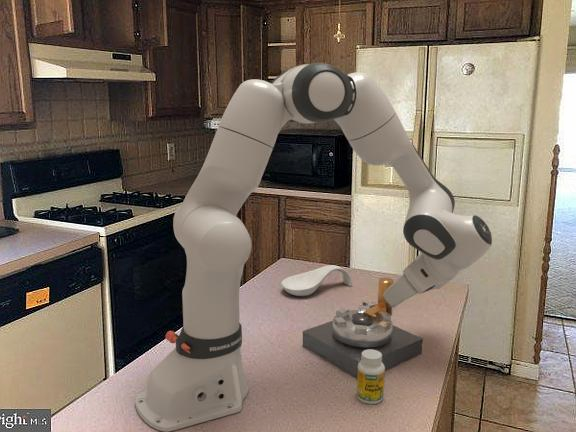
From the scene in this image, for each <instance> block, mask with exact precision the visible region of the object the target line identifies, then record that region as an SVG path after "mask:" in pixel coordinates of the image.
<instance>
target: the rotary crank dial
mask: <svg viewBox="0 0 576 432" xmlns="http://www.w3.org/2000/svg"><path fill="white" fill-rule="evenodd" d="M394 282H395V280H394V279H392V278H389V277H380V278H379V279H378V289H377V290H378V292H377V303H376V304H377V305H375V306H373V307H372V308H370V306H363V305H361V304H360V305H358V309H351V310H350V309H349V308H346V307H340V308H338V309H336V310H335V316H333V318H332V321H333V332H332V333H333V336H334V337H335V338H336V339H337V340H339V341H340V342H342V343H344V344H347V345H351V346H355V347H378V346H382V345H384V344H386V343H388V342H389V341H390V340H391V339H392V328H393V324H394V323H393V321H392V315H393V307H391V306H390V305H389V304H388V302H387V301H386V300H385V298H384V297H383V294H384V292H385V291H386V290H387V289H388V288H389V287H390V286H391V285H392V284H393V283H394Z"/></svg>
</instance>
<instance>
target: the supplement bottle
mask: <svg viewBox="0 0 576 432" xmlns="http://www.w3.org/2000/svg"><path fill="white" fill-rule="evenodd" d="M361 359H362V360H361V361H360V362H359V364H358V376H357V378H356V380H357V381H356V382H357V383H356V397H357V399H358V400H359V401H361V402H363V403H365V404H367V405H368V404H370V405H375V404H379V403H381V402H382V401H383V399H384V397H385V393H384V392H385V378H386V377H385V376H386V375H385V373H386V371H385V366H384V364H383V363H382V362H381V361H382V354H381V353H380V352H379V351H377V350H372V349H368V350H364V351H363V352H362V355H361Z"/></svg>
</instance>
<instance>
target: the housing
mask: <svg viewBox="0 0 576 432" xmlns="http://www.w3.org/2000/svg"><path fill="white" fill-rule="evenodd" d="M332 332H333V320H330V321H328V322H325V323H322V324H319V325H316V326H314V327H311V328H308V329H305V330H302V347H303V348H305V349H307V350H308V351H310V352H311V353H313V354H315V355H317V356H318V357H320V358H321V359H324V360H325V361H327V362H329V363H330V364H332V365H333V366H335V367H337V368H339V369H340V370H342V371H343V372H345V373H347V374H348V375H350V376H352V377H354V378H356V379H357V376H358V364H359V362H360V361H361V360H362V359H361V355H362V352H363V351H364V350H368V349H372V350H377V351H379V352H380V353H381V354H382V361H381V362H382V363H383V364H384V366H385V372H386V371H388V370H391V369H392V368H395V367H396V366H399V365H401V364H403V363H405V362H408V361H409V360H412V359H414V358H416V357H418V356H421V355H423V353H422V351H423V340H424V339H423V337H421V336H419V335H415V334H413V333H412V332H409V331H407V330H405V329H402V328H401V327H398V326H396V325H393V328H392V339H391V340H390V341H389V342H388V343H386V344H384V345H382V346H378V347H355V346H351V345H347V344H344V343H342V342H340V341H339V340H337V339H336V338H335V337H334V336H333V333H332Z"/></svg>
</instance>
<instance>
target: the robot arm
mask: <svg viewBox="0 0 576 432" xmlns="http://www.w3.org/2000/svg"><path fill="white" fill-rule="evenodd" d="M330 121H335V122H336V124H337V125H338V126H339V127H340V128H341V130H342V132H343V134H344V137H345V138H346V140H347V141H348V143H349V146H350V147H351V148H352V150H353V152H354V153H356V155H357V156H358V157H359V158H360V160H362V161H363V163H365V164H368V165H372V166H384V165H387V164H389V165H390V166H391V167H392V168H393V170H395V172H396V173H397V175H398V176H399V178H400V180H401V181H402V183H403V184H404V186H405V187H406V189H407V190H408V194H409V205H408V206H409V207H408V210H407V213H406V217H405V220H404V223H403V228H402V229H403V231H402V232H403V237H404V239H405V240H406V242H407V243H408V244H409V245H410V246H411V247H412V248H414V249H415V250H418V251H419V252H420V254H418V255H417V256H416V257H414V260H413V261H412V262H411V263H410V264H409V265H408V266H406V267H404V269H402V274H401V275H400V276H399V277H398V278H397V279H395V280H394V283H393V284H392V285H391V286H390V287H389V288H388V289H387V290H386V291H385V292H384V294H383V297H384V298H385V300H386V301H387V302H388V304H389V305H390V306H391V307H392V308H393V307H396V306H398V305H399V304H401V303H403V302H406V300H409V299H411V298H412V297H414V296H416V295H418V294H420V295H421V294H423V293H427V292H428V291H432V290H433V291H434V290H439V289H441V288H442V287H444V286H445V285H447V284H448V283H450V282H451V281H452V280H454V279H455V278H456V277H457V276H458V274H460V272H461V271H463V270H466V269H468V268H470V266H472V265H474V264H475V263H476V262H477V261H479V260H480V259H481V258H483V256H484V255H485V254H487V252H488V251H489V250H490V249H491V247H492V245H493V237H492V232H491V230H490V228H489V226H488V225H487V223H486V222H485V221H484V220H483V219H482V218H481V217H480V216H478V215H475V214H472V215H471V214H470V215H462V214H456V213H453V212H454V209H455V205H456V202H455V197H454V195H453V193H452V192H451V190H450V189H449V188H448V187H447V186H446V185H444V184H443V183H441V182H440V181H439V180H438V179H437V178H436V177H435V176H434V175H433V173H432V172H431V170H430V169H429V167H428V166H427V164H426V162H425V161H424V160H423V158H422V155H421V154H420V153H419V151H418V150H417V148H416V147H415V145H414V144H413V142H412V141H411V139H410V137H409V136H408V134H407V132H406V130H405V127H404V125H403V123H402V121H401V119H400V118H399V115H398V114H397V112H396V110H395V108H394V107H393V104H392V103H391V102H390V100H389V98H388V96H387V95H386V94H385V92H384V91H383V89H382V88H381V87H380V86H379V84H378V83H377V82H376V81H375V80H374V79H373V77H372V76H371V75H370V74H368V73H366V72H362V71H357V72H352V73H348V74H347V73H344V71H342V70H341V69H339V68H337V67H336V66H335V65H332V64H329V63H325V62H312V63H310V64H309V63H304V64H300V65H297V66H294V67H292V68H290V69H288V70H285V71H283V72H282V73H280V74H278V75H277V76H276V77H275V78H274V79H273V80H271V81H270V82H268V81H266V80H262V79H257V78H256V79H247V80H245V81H243V82H242V83H241V84H240V85H239V86H238V87H237V89H236V90H235V92H234V94H233V95H232V97H231V99H230V101H229V102H228V105H227V107H226V108H225V110H224V112H223V114H222V117H221V119H220V121H219V125H218V127H217V129H216V132H215V134H214V138H213V139H212V141H211V145H210V148H209V150H208V153H207V154H206V155H207V156H206V157H205V160H204V162H203V165H202V167H201V169H200V171H199V173H198V175H197V177H196V178H195V180H194V182H193V183H192V185H191V187H190V188H189V190H188V192H187V193H186V195H185V198H184V199H183V202H181V204H180V205H179V206H178V208H176V211H175V213H174V215H173V218H172V219H173V221H172V222H173V223H172V227H173V233H174V236H175V238H176V240H177V242H178V243H179V244H180V246H181V247H182V248H183V250H184V253H185V255H186V273H185V274H186V275H185V282H184V286H183V288H182V293H181V297H182V319H183V320H182V322H183V326H182V328H181V330H180V333H179V334H177V333H176V332H175V331H174V330H168V331H167V332H166V334H165V340H166V341H167V342H169V343H170V344H175V347H174V349H172V350H171V352H169V353H168V354H167V355H166V357H164V359H162V360H161V361H160V363H159V362H158V364H157V365H156V366H155V367H154V368H153V369H152V370H151V371H150V372H149V375H148V378H147V382H146V383H147V384H146V389H145V390H143V391H141V392H138V393H137V395H136V397H135V403H134V404H135V410H136V411H137V413H138V415H139V416H140V417H141V419H142V420H143V422H144V423H146V424H147V425H148V426H150V427H152V428H153V429H155V430H157V431H161V432H172V431H176V430H180V429H183V428H184V429H185V428H188V427H191V426H194V425H198V424H200V423H204V422H208V421H211V420H215V419H219V418H223V417H226V416H230V415H233V414H236V413H237V414H238V413H239V412H241V411H242V409H243V401H244V400H245V398H246V396H247V395H248V393H249V384H248V382H247V379H246V375H245V371H244V367H243V359H242V351H241V348H242V344H243V333H242V331H243V330H242V329H243V328H242V324H241V323H240V288H241V282H242V276H243V272H244V266H245V264H246V263H247V261H248V260H249V257H250V256H251V252H252V238H251V235H250V234H249V232H248V230H247V228H246V226H245V224H244V223H243V221H242V220H241V219H240V218H239V217H238V212H239V211H240V209H241V208H242V206H243V205H244V203H245V201H246V200H247V199H248V198H249V196H251V194H252V193H253V192H254V191H256V190H257V188H258V187H259V185H260V184H261V181H262V177H263V175H264V173H265V170H266V167H267V165H268V162H269V160H270V157H271V154H272V152H273V150H274V147H275V144H276V141H277V138H278V135H279V133H280V132H281V129H282V128H283V127H284V126H285V124H286V123H287V122H290V123H291V122H293V123H295V122H296V123H301V124H315V123H326V122H330Z"/></svg>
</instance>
